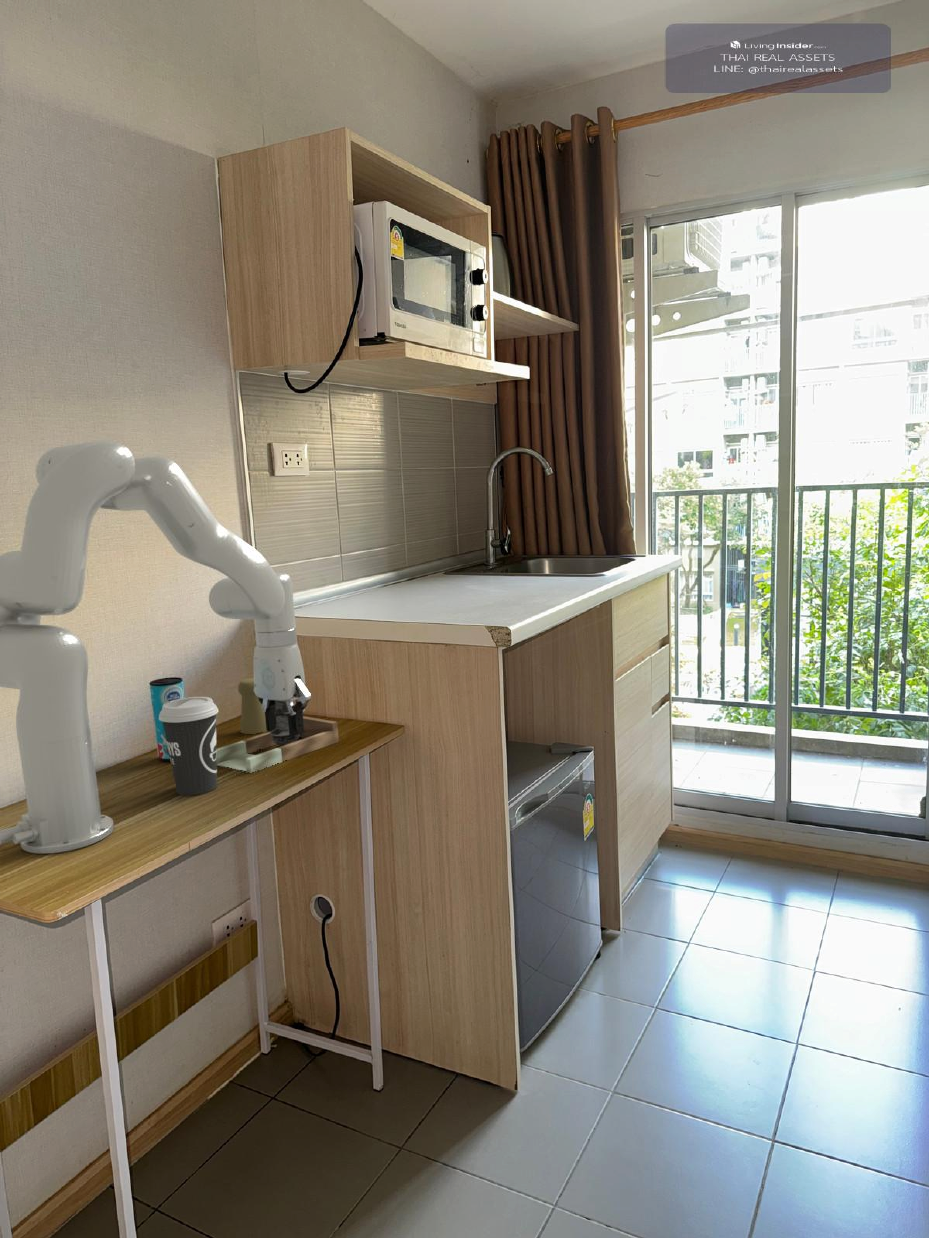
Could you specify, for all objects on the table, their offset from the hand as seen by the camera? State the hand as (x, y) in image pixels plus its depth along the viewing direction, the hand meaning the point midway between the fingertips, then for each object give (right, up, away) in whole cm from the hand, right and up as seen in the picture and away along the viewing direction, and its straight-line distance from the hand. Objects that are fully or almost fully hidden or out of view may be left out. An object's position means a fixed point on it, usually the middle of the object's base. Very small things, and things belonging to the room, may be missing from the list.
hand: (285, 730), depth 167 cm
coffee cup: (-11, -7, -20) cm, 24 cm away
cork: (-9, -2, +16) cm, 18 cm away
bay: (-2, -4, -2) cm, 5 cm away
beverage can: (-21, -5, 0) cm, 22 cm away
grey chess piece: (0, -4, +1) cm, 4 cm away
